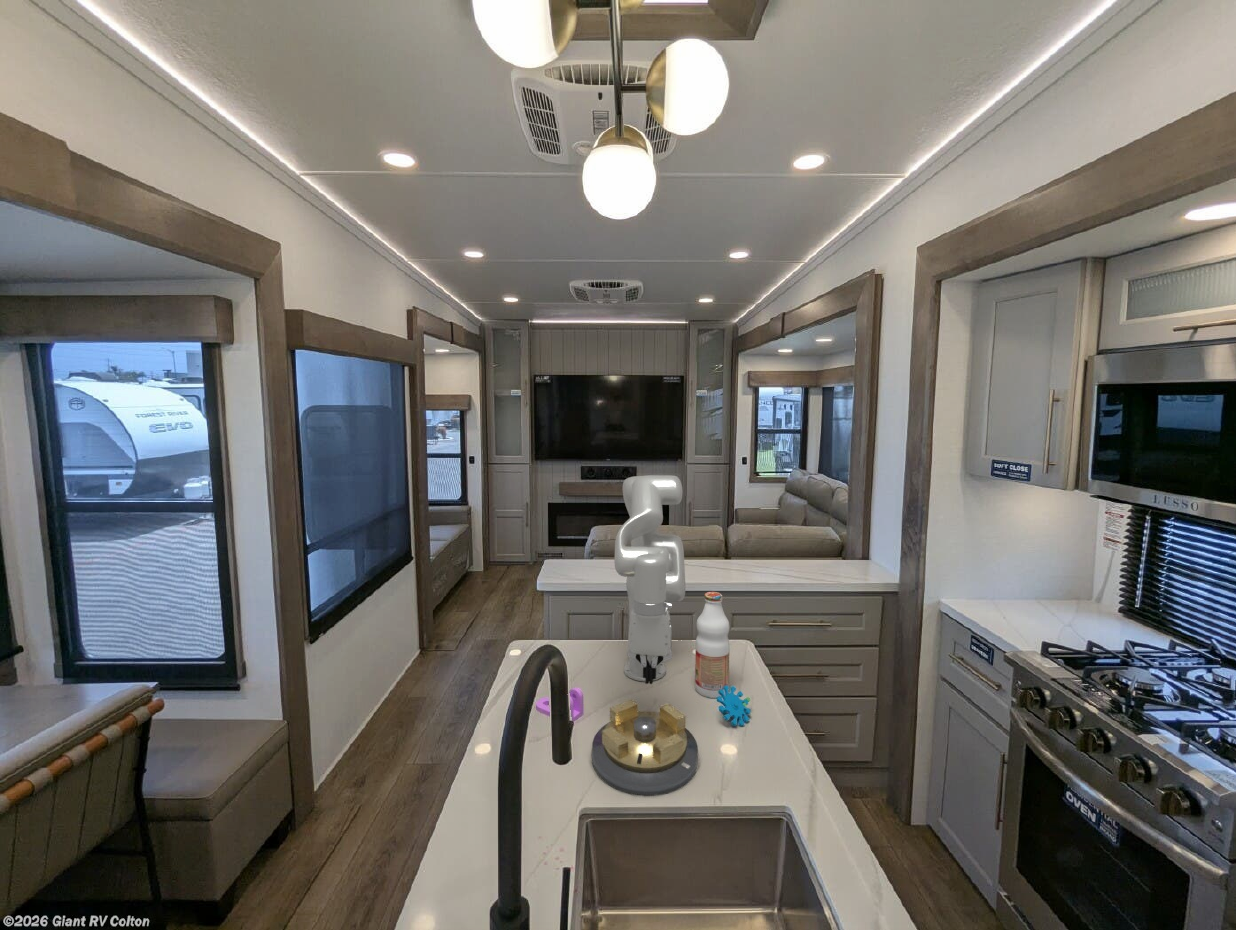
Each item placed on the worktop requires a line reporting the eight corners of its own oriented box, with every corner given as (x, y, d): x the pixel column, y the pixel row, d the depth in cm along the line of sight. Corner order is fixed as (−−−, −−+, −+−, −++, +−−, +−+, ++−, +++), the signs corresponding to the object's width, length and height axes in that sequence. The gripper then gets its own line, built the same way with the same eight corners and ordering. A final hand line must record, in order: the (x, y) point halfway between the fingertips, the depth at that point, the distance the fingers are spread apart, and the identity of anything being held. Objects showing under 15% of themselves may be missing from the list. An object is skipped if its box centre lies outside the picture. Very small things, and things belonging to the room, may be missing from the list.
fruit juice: (711, 702, 141) (713, 603, 138) (687, 687, 149) (689, 592, 146) (735, 692, 147) (738, 595, 144) (711, 678, 154) (713, 586, 151)
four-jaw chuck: (611, 715, 130) (611, 696, 129) (688, 723, 127) (688, 704, 126) (594, 767, 111) (594, 745, 111) (684, 778, 108) (684, 755, 107)
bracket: (583, 714, 136) (583, 689, 135) (570, 725, 132) (569, 699, 131) (545, 699, 143) (545, 675, 143) (531, 709, 139) (531, 684, 138)
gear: (730, 728, 127) (713, 687, 133) (716, 736, 131) (700, 695, 137) (761, 719, 134) (744, 680, 139) (746, 727, 137) (730, 689, 143)
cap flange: (604, 720, 133) (604, 709, 133) (699, 731, 129) (699, 719, 129) (580, 787, 110) (580, 773, 109) (696, 802, 105) (696, 788, 105)
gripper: (682, 603, 126) (681, 676, 128) (621, 599, 129) (621, 671, 130) (680, 614, 119) (679, 691, 120) (616, 610, 121) (616, 686, 123)
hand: (649, 680), depth 125 cm, fingers closed
